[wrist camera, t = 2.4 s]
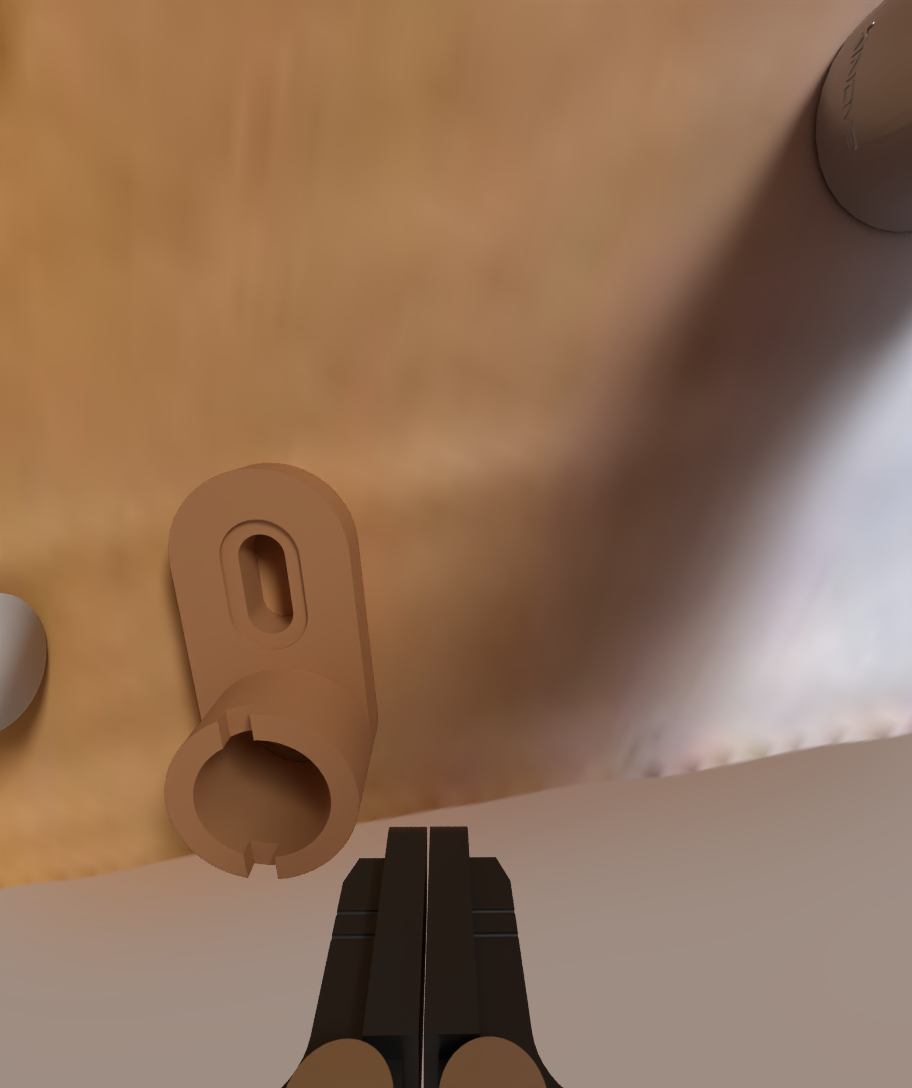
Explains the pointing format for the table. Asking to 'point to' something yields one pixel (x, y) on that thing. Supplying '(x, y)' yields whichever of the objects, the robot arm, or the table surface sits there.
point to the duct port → (19, 657)
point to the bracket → (271, 673)
